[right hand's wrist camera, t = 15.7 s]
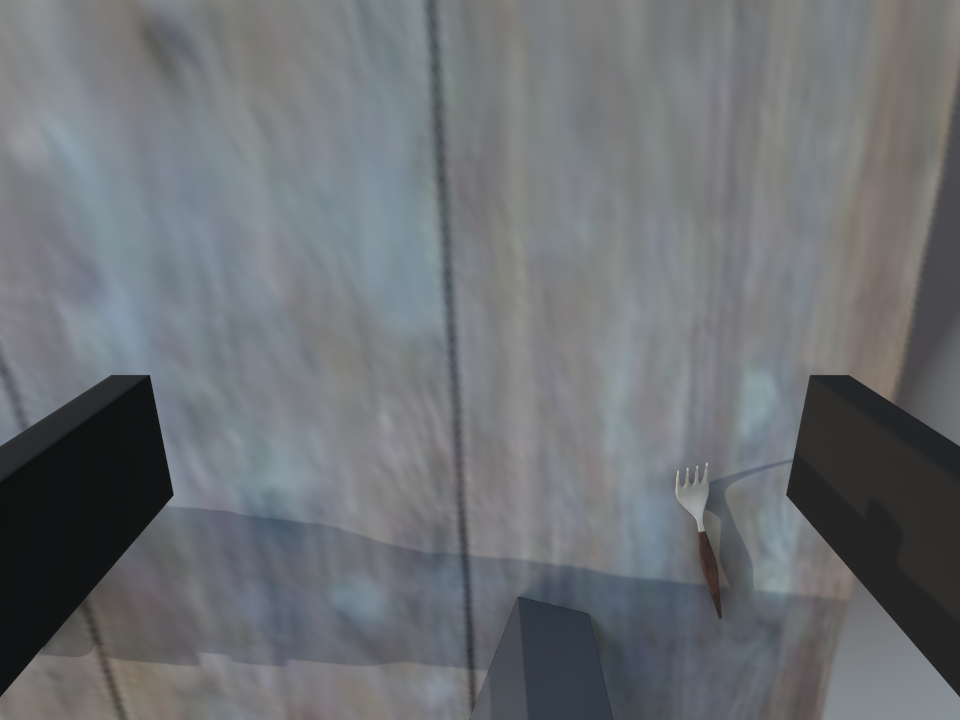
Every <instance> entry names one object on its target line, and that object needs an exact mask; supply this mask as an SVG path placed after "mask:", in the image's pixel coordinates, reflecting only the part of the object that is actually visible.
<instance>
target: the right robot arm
mask: <svg viewBox="0 0 960 720" xmlns="http://www.w3.org/2000/svg"><path fill="white" fill-rule="evenodd" d="M173 495H174V494H173V489H172V484H171V479H170V474H169V469H168V464H167V459H166V454H165V449H164V444H163V439H162V434H161V429H160V424H159V419H158V414H157V409H156V404H155V399H154V394H153V389H152V384H151V379H150V375H111V376H109V377H108V378H106V379H105V380H103V381H101V382H100V383H98V384H97V385H95V386H94V387H92V388H91V389H89V390H87V391H86V392H84V393H83V394H81V395H80V396H78V397H77V398H75V399H73V400H72V401H70V402H69V403H67V404H66V405H64V406H63V407H61V408H59V409H58V410H56V411H55V412H53V413H52V414H50V415H49V416H47V417H45V418H44V419H42V420H41V421H39V422H38V423H36V424H35V425H33V426H31V427H30V428H28V429H27V430H25V431H24V432H22V433H21V434H19V435H17V436H16V437H14V438H13V439H11V440H10V441H8V442H6V443H5V444H3V445H2V446H0V697H1V695H2V694H3V693H4V692H5V691H6V690H7V689H8V687H9V686H10V685H11V684H12V683H13V682H14V680H15V679H16V678H17V677H18V676H19V675H20V673H21V672H22V671H23V670H24V669H25V668H26V666H27V665H28V664H29V663H30V662H31V661H32V659H33V658H34V657H35V656H36V655H37V654H38V652H39V651H40V650H41V649H42V648H43V647H44V645H45V644H46V643H47V642H48V641H49V640H50V638H51V637H52V636H53V635H54V634H55V633H56V631H57V630H58V629H59V628H60V627H61V626H62V624H63V623H64V622H65V621H66V620H67V619H68V617H69V616H70V615H71V614H72V613H73V612H74V611H75V609H76V608H77V607H78V606H79V605H80V604H81V602H82V601H83V600H84V599H85V598H86V597H87V595H88V594H89V593H90V592H91V591H92V590H93V588H94V587H95V586H96V585H97V584H98V583H99V581H100V580H101V579H102V578H103V577H104V576H105V574H106V573H107V572H108V571H109V570H110V569H111V567H112V566H113V565H114V564H115V563H116V562H117V560H118V559H119V558H120V557H121V556H122V555H123V553H124V552H125V551H126V550H127V549H128V548H129V546H130V545H131V544H132V543H133V542H134V541H135V540H136V538H137V537H138V536H139V535H140V534H141V533H142V531H143V530H144V529H145V528H146V527H147V526H148V524H149V523H150V522H151V521H152V520H153V519H154V517H155V516H156V515H157V514H158V513H159V512H160V510H161V509H162V508H163V507H164V506H165V505H166V503H167V502H168V501H169V500H170V499H171V498H172V496H173ZM786 495H787V496H788V498H789V499H790V500H791V501H792V502H793V503H794V505H795V506H796V507H797V508H798V509H799V510H800V512H801V513H802V514H803V515H804V516H805V517H806V519H807V520H808V521H809V522H810V523H811V524H812V526H813V527H814V528H815V529H816V530H817V531H818V533H819V534H820V535H821V536H822V537H823V538H824V540H825V541H826V542H827V543H828V544H829V545H830V546H831V548H832V549H833V550H834V551H835V552H836V553H837V555H838V556H839V557H840V558H841V559H842V560H843V562H844V563H845V564H846V565H847V566H848V567H849V569H850V570H851V571H852V572H853V573H854V574H855V576H856V577H857V578H858V579H859V580H860V581H861V583H862V584H863V585H864V586H865V587H866V588H867V590H868V591H869V592H870V593H871V594H872V595H873V597H874V598H875V599H876V600H877V601H878V602H879V604H880V605H881V606H882V607H883V608H884V609H885V611H886V612H887V613H888V614H889V615H890V616H891V618H892V619H893V620H894V621H895V622H896V623H897V624H898V626H899V627H900V628H901V629H902V630H903V631H904V633H905V634H906V635H907V636H908V637H909V638H910V640H911V641H912V642H913V643H914V644H915V645H916V647H917V648H918V649H919V650H920V651H921V652H922V654H923V655H924V656H925V657H926V658H927V659H928V661H929V662H930V663H931V664H932V665H933V666H934V668H935V669H936V670H937V671H938V672H939V673H940V674H941V676H942V677H943V678H944V679H945V680H946V681H947V683H948V684H949V685H950V686H951V687H952V689H953V690H954V691H955V692H956V693H957V694H958V695H959V697H960V446H958V445H957V444H955V443H954V442H952V441H950V440H949V439H947V438H946V437H944V436H943V435H941V434H939V433H938V432H936V431H935V430H933V429H932V428H930V427H929V426H927V425H925V424H924V423H922V422H921V421H919V420H918V419H916V418H915V417H913V416H911V415H910V414H908V413H907V412H905V411H904V410H902V409H901V408H899V407H897V406H896V405H894V404H893V403H891V402H890V401H888V400H887V399H885V398H883V397H882V396H880V395H879V394H877V393H876V392H874V391H873V390H871V389H869V388H868V387H866V386H865V385H863V384H862V383H860V382H859V381H857V380H855V379H854V378H852V377H851V376H849V375H810V379H809V384H808V389H807V394H806V399H805V404H804V409H803V414H802V419H801V424H800V429H799V434H798V439H797V444H796V449H795V454H794V459H793V464H792V469H791V474H790V479H789V484H788V489H787V494H786Z"/></svg>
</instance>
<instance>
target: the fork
mask: <svg viewBox="0 0 960 720" xmlns="http://www.w3.org/2000/svg"><path fill="white" fill-rule="evenodd" d="M708 495H709V480H708V463H706V467H705V472H704V478H703V480H702V481H699V472H698V465H697V467H696V472H695V478H694V482H693V483H692V484H691V483H690V480H689V469H688V468H687V472H686V478H685V484H684V486H681V484H680V475H679V470H678V472H677V479H676V497H677V499H678V500H679V502H680V503H681V504H682V505H683V506H684V507H685V508H686V509H687V510H688V511H689V512H690V513H691V514H692V515H693V516H694V517H695V518H696V520H697V523H698V531H699V547H700V558H701V565H702V569H703V572H704V575H705V578H706V581H707V583H708V586H709V589H710V592H711V595H712V598H713V601H714V604H715V607H716V610H717V613H718V616H719V619H721V618H722V616H721V605H720V595H719V582H718V570H717V565H716V561H715V557H714V554H713V551H712V549H711V546H710V543H709V540H708V537H707V534H706V532H705V529H704V525H703V512H704V509H705V505H706V502H707V499H708Z"/></svg>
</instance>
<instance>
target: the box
mask: <svg viewBox="0 0 960 720" xmlns="http://www.w3.org/2000/svg"><path fill="white" fill-rule="evenodd" d="M469 720H613V717H612V713H611V708H610V704H609V700H608V695H607V691H606V687H605V682H604V678H603V674H602V669H601V665H600V661H599V656H598V652H597V647H596V643H595V639H594V634H593V630H592V626H591V621H590V617H589V614H586V613H582V612H578V611H574V610H569V609H565V608H561V607H557V606H553V605H549V604H545V603H541V602H536V601H532V600H528V599H524V598H520V597H518V598H517V600H516V603H515V606H514V608H513V611H512V613H511V616H510V618H509V621H508V623H507V626H506V628H505V631H504V633H503V636H502V638H501V641H500V644H499V646H498V649H497V651H496V654H495V656H494V659H493V661H492V664H491V666H490V669H489V671H488V674H487V676H486V679H485V681H484V684H483V687H482V689H481V692H480V694H479V697H478V699H477V702H476V704H475V707H474V709H473V712H472V714H471V717H470V719H469Z"/></svg>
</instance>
